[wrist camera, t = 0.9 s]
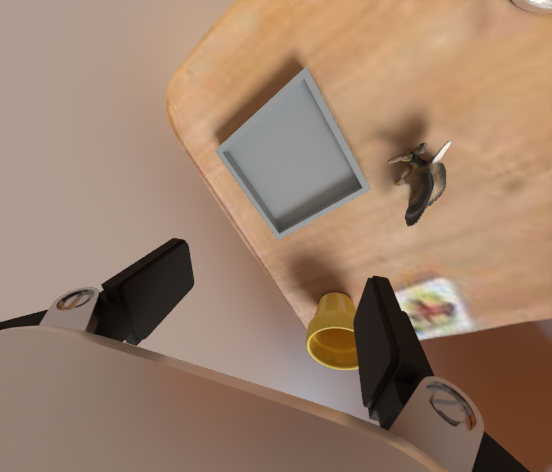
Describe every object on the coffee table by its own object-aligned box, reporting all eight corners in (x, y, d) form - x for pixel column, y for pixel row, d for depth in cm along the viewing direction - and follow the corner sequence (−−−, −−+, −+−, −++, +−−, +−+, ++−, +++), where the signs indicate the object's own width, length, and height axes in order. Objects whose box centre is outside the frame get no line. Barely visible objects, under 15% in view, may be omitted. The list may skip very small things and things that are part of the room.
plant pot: (360, 327, 41) (368, 377, 32) (309, 319, 43) (304, 364, 35) (368, 287, 37) (381, 333, 28) (311, 281, 39) (306, 321, 30)
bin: (308, 73, 25) (306, 66, 23) (367, 185, 29) (371, 189, 27) (224, 149, 32) (214, 150, 29) (281, 232, 36) (277, 239, 33)
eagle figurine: (365, 171, 28) (391, 229, 28) (409, 149, 21) (441, 227, 21) (407, 149, 29) (430, 205, 30) (462, 122, 22) (490, 197, 23)
